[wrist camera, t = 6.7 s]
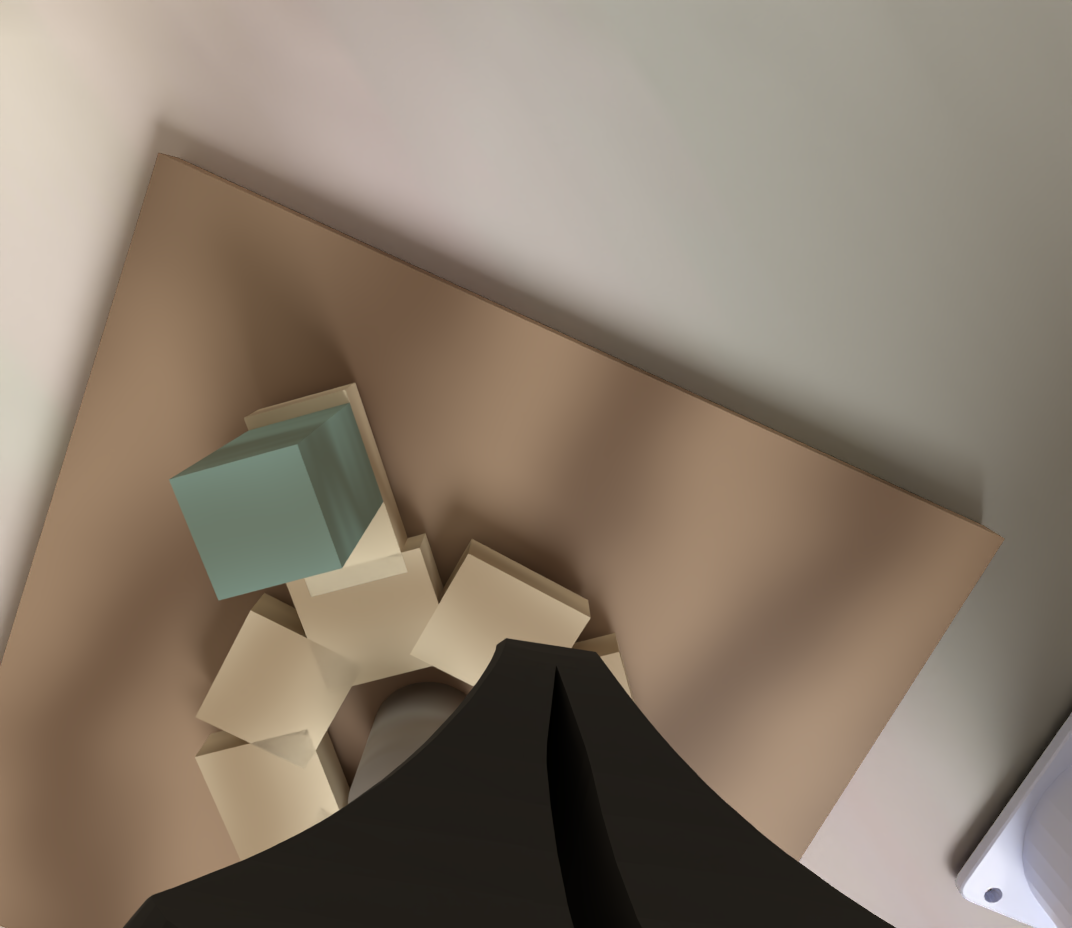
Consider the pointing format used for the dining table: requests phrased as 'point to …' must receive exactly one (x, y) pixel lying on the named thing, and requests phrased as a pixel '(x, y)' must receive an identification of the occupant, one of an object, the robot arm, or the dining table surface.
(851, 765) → the post board
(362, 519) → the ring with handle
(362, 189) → the dining table surface
